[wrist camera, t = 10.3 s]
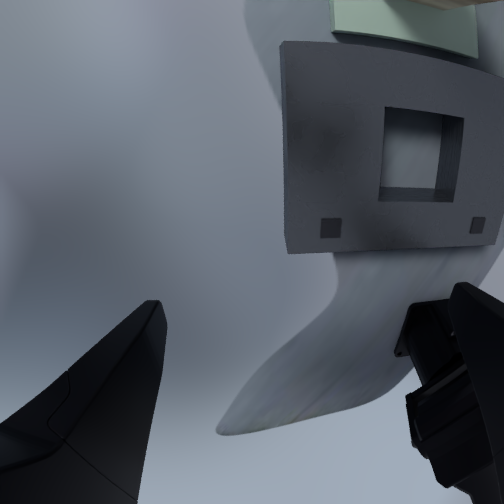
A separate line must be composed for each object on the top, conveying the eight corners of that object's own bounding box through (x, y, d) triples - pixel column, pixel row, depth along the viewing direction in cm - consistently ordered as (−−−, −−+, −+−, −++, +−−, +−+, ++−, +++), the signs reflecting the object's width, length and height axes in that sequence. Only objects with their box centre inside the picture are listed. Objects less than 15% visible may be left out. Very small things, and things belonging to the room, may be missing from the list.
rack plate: (478, 229, 21) (495, 245, 18) (284, 234, 21) (287, 255, 19) (498, 80, 15) (521, 85, 12) (279, 46, 15) (283, 40, 13)
